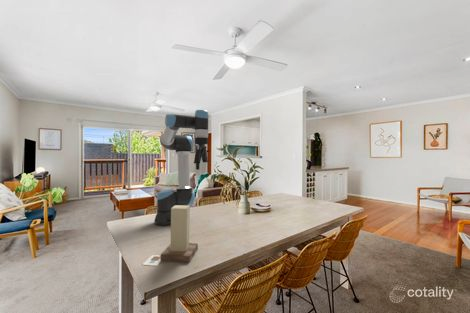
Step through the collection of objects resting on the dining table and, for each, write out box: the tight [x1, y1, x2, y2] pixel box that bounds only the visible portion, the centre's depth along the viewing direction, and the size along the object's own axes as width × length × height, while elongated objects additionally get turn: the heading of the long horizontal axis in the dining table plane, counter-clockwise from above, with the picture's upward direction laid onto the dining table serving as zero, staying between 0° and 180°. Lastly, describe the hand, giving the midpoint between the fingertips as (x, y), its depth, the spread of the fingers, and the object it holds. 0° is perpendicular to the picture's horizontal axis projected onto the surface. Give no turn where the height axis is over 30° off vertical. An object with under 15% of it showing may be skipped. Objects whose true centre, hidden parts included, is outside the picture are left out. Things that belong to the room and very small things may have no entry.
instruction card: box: [141, 254, 162, 267], centre depth 100 cm, size 9×7×1 cm
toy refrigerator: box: [170, 205, 191, 252], centre depth 106 cm, size 8×7×21 cm
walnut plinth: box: [159, 242, 199, 264], centre depth 106 cm, size 14×14×3 cm
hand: (201, 174), depth 123 cm, fingers open, 13 cm apart
